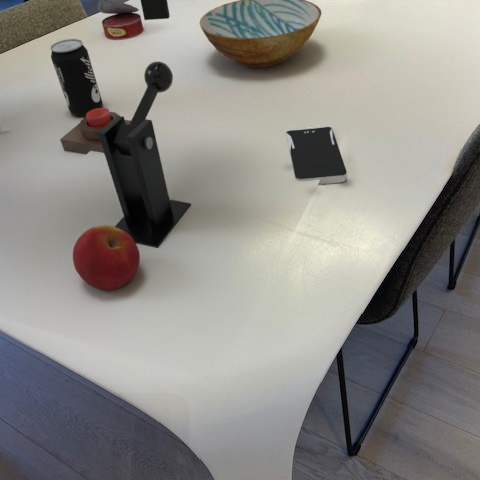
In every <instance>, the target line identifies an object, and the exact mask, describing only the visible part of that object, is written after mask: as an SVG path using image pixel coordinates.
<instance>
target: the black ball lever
mask: <svg viewBox="0 0 480 480" xmlns="http://www.w3.org/2000/svg"><path fill="white" fill-rule="evenodd" d="M173 75H174V74H173V72H172V70H171V68H170V67H169V65H168V64H166V63H165V62H163V61H152V62H151V63H149V64H148V65H147V66H146V68H145V70H144V75H143V77H144V81H145V85H146V86H147V87H146V89H145V91H144V92H143V95H142V97H141V99H140V102H139V103H138V105H137V107H136V110H135V112H134V114H133V116H132V118H131V119H130V121H131V122H130V124H121V126H120V128H119V130H118V132H117V134H116V136H115V138H114V140H113V143H114V145H115V146H116V148H117V149H118V151H119V152H120V153H121V155H127V156H131V152H130V148H129V145H128V141H127V136H128V135H129V134H130V133H131V132H132V131H133V130H134V129H135V128H136V127H137V126H138V125H139V124H140V123H142V122H143V121H144V120H145V119H147V117H148V115H149V112H150V111H151V108H152V106H153V104H154V102H155V100H156V97H157V96H158V94H161V93H165V92H167V91H168V90H169V89H170V88H171V87H172V84H173V79H174V76H173Z"/></svg>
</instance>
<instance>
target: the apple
mask: <svg viewBox="0 0 480 480" xmlns="http://www.w3.org/2000/svg"><path fill="white" fill-rule="evenodd" d="M140 254H141V253H140V249H139V247H138V245H137V243H135V242H134V240H133V238H132V237H131V236H130V235H129V234H128V233H126V232H125V231H123V230H121V229H119V228H117V227H115V226H114V225H108V224H102V225H95V226H92V227H90V228H88V229H86V230H85V231H84V232H83V233H82V234H81V235H80V236H79V237H78V238H77V240H76V241H75V243H74V246H73V249H72V261H73V266H74V269H75V271H76V273H77V274H78V275H79V277H80V278H81V279H82V280H83V281H84V282H85V283H86V284H87V285H89V286H90V287H93V288H95V289H99V290H104V291H116V290H118V289H120V288H122V287H124V286H125V285H127V284H128V283H130V282H131V280H133V278H134V277H135V275H136V274H137V272H138V269H139V266H140V261H141V260H140V259H141V255H140Z"/></svg>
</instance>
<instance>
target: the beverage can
mask: <svg viewBox="0 0 480 480" xmlns="http://www.w3.org/2000/svg"><path fill="white" fill-rule="evenodd" d="M49 49H50V50H51V54H50V59H51V62H52V65H53V68H54V70H55V73H56V76H57V79H58V82H59V85H60V87H61V91H62V94H63V96H64V99H65V102H66V105H67V108H68V110H69V112H70V113H71V114H73V115H74V116H76V117H78V118H79V117H80V118H85V117H86V114H87V113H88V112H89V111H91V110H93V109H96V108H103V99H102V96H101V92H100V89H99V85H98V82H97V78H96V75H95V72H94V69H93V65H92V61H91V58H90V55H89V51H88V49H87V48H86V46H85V45H84V44H83V41H82V39H78V38H66V39H61V40H59V41H56V42H54V43H52V44H51V45H50V48H49Z"/></svg>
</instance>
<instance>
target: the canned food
mask: <svg viewBox="0 0 480 480" xmlns="http://www.w3.org/2000/svg"><path fill="white" fill-rule="evenodd" d="M96 6H97V7H96V8H97V11H98V12H99V13H102V14H105V15H106V14H107V15H109V16H107V17H105V18H104V19H102V21H101V25H102V29H103V33H104V36H105V38H107V39H109V40H114V41H115V40H117V41H118V40H119V41H120V40H128V39H131V38H134V37H137V36H139V35H141V34H142V33H143V32H144V26H143V22H142V16H141V15H140V14H139V13H136V12H139V10H140V9H139V8H137V7H136V6H133V5H131V4H128V3H126V2H123V1H118V0H99V1H98V2H97V5H96Z"/></svg>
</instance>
